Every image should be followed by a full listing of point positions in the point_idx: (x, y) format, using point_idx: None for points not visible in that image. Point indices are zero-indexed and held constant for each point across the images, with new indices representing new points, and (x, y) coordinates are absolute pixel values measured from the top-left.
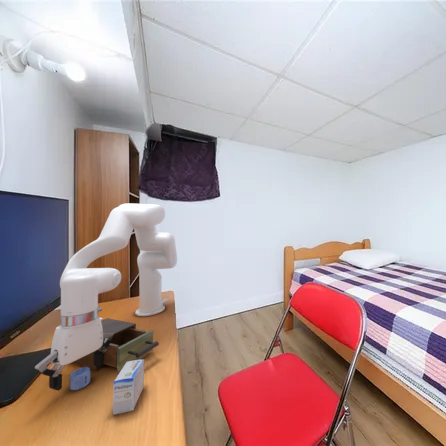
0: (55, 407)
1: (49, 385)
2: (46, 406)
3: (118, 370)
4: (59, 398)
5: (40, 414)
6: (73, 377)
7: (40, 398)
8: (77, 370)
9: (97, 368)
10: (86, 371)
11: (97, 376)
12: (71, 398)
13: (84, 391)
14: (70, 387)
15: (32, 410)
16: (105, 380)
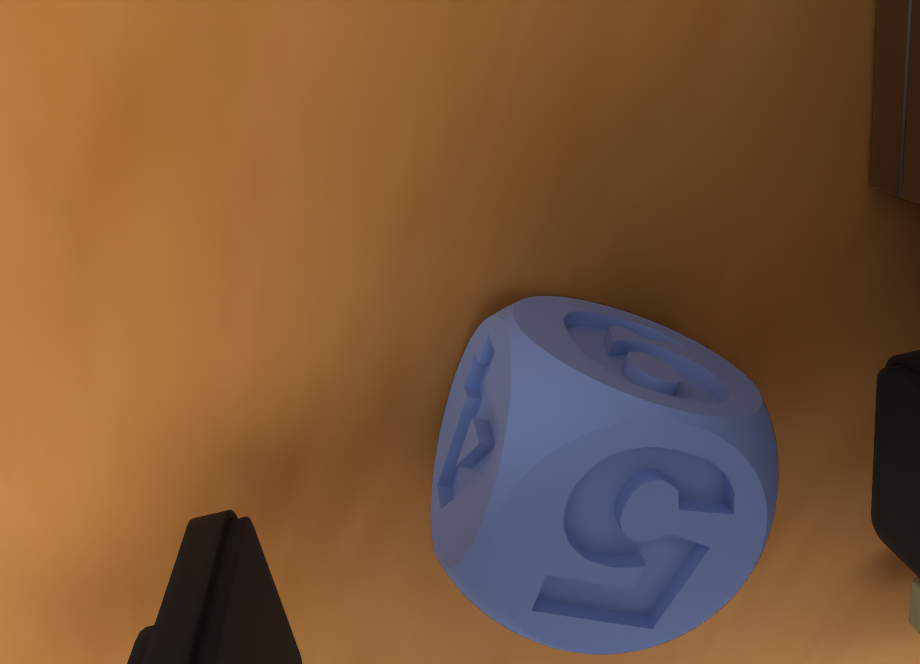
0: None
1: (136, 658)
2: (169, 508)
3: (917, 616)
4: (307, 473)
5: (102, 601)
6: (493, 604)
7: (135, 240)
8: (630, 441)
9: (895, 186)
10: (676, 628)
11: (764, 389)
12: (393, 588)
13: None
14: (432, 512)
15: (35, 448)
16: None
